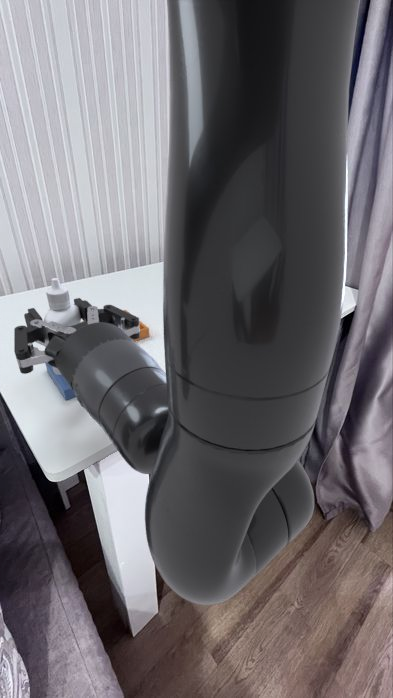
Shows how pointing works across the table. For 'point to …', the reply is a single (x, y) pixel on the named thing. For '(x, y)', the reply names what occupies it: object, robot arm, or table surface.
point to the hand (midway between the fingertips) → (55, 310)
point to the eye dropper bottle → (61, 308)
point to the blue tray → (60, 383)
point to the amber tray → (141, 330)
